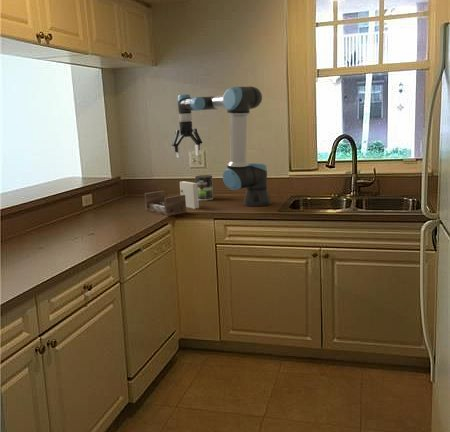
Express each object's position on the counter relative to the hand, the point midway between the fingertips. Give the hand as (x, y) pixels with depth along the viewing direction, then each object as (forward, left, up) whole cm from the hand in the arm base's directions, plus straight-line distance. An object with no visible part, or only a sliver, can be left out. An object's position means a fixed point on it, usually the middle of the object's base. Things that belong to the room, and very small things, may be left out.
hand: (188, 156), depth 318 cm
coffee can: (-7, -6, -26) cm, 28 cm away
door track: (-21, +30, -26) cm, 45 cm away
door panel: (-21, +14, -26) cm, 36 cm away
